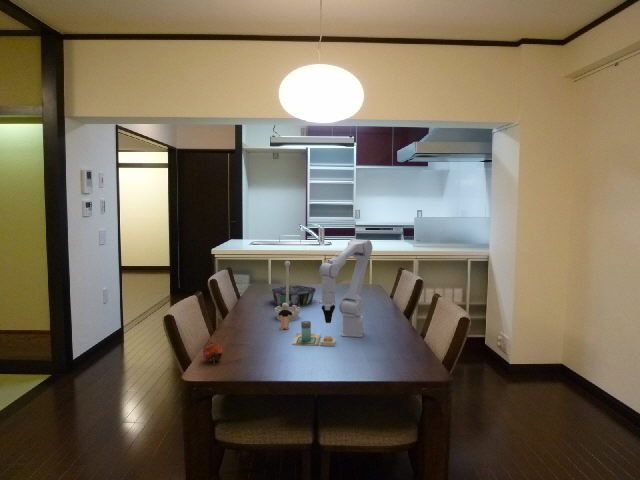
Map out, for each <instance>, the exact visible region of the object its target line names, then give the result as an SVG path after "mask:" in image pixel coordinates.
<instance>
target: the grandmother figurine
mask: <svg viewBox="0 0 640 480" xmlns="http://www.w3.org/2000/svg"><path fill="white" fill-rule="evenodd" d="M281 307H283V310H281V311H280V313H279V314H278V316H277V315H276V319H277V318H279V317H280V315H282V316H281V320H280V327H279V330H280V331H281V330H283V331H284V330H286V331H287V330H290V328H289V325H290V321H289V316H288V315H291V317H292V318H293V317H294V316H293V314H292V312H290V311H289V310H287V309H288V307H289V305H288V304H287V303H283V304H282V306H281Z"/></svg>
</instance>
